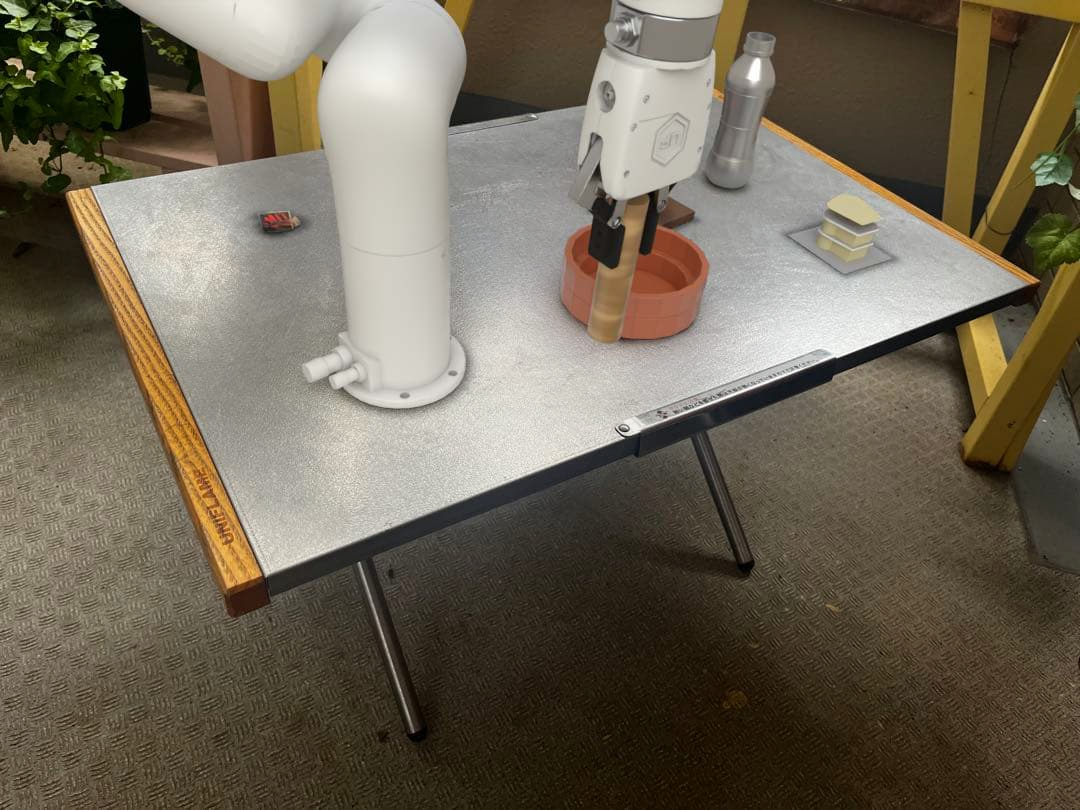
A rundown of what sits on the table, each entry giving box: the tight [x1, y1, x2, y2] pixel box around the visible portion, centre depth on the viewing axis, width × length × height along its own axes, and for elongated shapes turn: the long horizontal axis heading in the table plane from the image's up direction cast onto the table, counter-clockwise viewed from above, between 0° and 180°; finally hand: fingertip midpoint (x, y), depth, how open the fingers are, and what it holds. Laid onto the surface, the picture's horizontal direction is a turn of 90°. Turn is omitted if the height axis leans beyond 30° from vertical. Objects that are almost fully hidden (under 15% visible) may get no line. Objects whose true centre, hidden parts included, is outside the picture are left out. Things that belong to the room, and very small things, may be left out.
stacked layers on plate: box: [787, 193, 893, 275], centre depth 102 cm, size 10×9×6 cm
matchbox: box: [256, 210, 302, 234], centre depth 97 cm, size 5×5×1 cm
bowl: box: [559, 223, 710, 340], centre depth 89 cm, size 16×16×6 cm
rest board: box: [605, 195, 696, 230], centre depth 105 cm, size 10×9×1 cm
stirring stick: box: [586, 194, 650, 344], centre depth 70 cm, size 3×3×14 cm
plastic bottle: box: [705, 31, 777, 189], centre depth 108 cm, size 6×7×20 cm
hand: (619, 252), depth 69 cm, fingers closed on stirring stick, 3 cm apart
